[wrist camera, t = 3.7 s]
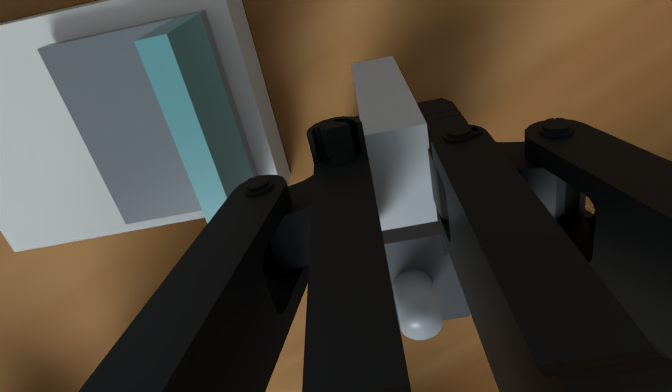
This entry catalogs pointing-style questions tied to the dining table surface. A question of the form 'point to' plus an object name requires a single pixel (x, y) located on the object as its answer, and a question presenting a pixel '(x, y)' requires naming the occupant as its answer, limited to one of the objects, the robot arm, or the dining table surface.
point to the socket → (64, 138)
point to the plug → (422, 280)
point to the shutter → (155, 115)
